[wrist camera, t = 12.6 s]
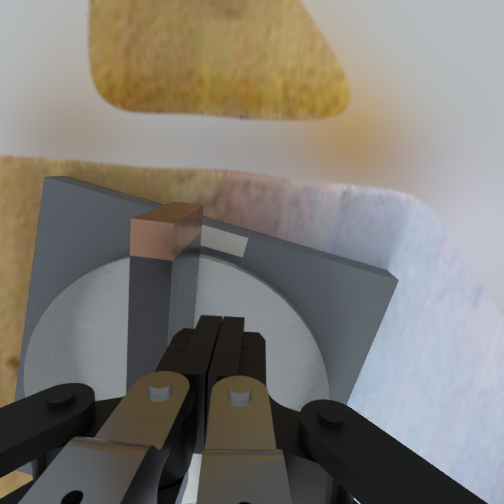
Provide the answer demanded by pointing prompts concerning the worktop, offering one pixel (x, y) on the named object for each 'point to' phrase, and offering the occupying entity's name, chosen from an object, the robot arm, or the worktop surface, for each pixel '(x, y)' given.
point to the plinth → (219, 243)
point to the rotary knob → (167, 318)
